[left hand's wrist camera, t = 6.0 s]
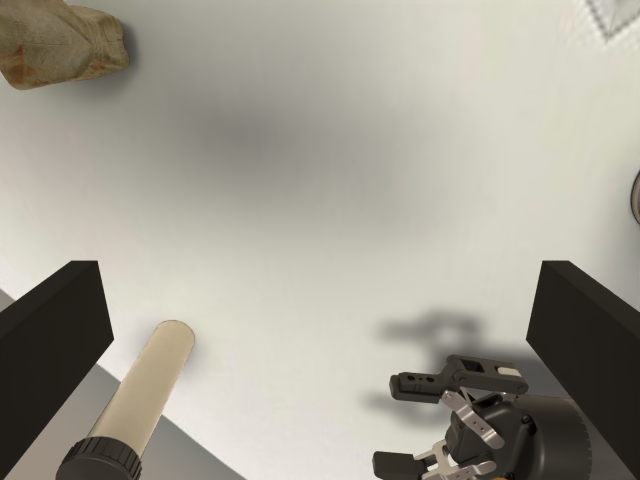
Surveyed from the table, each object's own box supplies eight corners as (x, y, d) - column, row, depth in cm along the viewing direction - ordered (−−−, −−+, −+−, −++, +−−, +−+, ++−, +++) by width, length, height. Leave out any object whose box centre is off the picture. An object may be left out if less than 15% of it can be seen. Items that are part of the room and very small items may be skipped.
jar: (156, 352, 44) (70, 499, 29) (153, 319, 42) (60, 455, 27) (195, 354, 44) (130, 501, 29) (193, 321, 42) (124, 458, 27)
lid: (75, 486, 30) (61, 510, 28) (63, 433, 28) (47, 455, 27) (145, 489, 30) (135, 513, 29) (138, 436, 28) (127, 458, 27)
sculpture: (37, 6, 32) (-181, -48, 18) (131, 4, 32) (-14, -51, 18) (57, 87, 34) (-126, 95, 20) (144, 85, 34) (23, 92, 20)
